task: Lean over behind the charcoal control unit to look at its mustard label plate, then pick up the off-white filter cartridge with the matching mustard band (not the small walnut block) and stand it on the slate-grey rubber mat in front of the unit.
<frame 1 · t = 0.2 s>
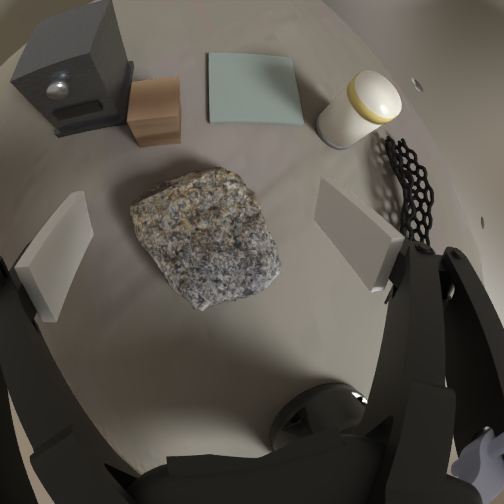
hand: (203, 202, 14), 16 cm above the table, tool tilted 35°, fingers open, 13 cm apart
rock: (206, 239, 30), on the table
mat: (254, 86, 31), on the table
control unit: (95, 98, 27), on the table
walnut block: (160, 127, 29), on the table
cartridge: (335, 129, 33), on the table
decorative element: (398, 212, 36), on the table
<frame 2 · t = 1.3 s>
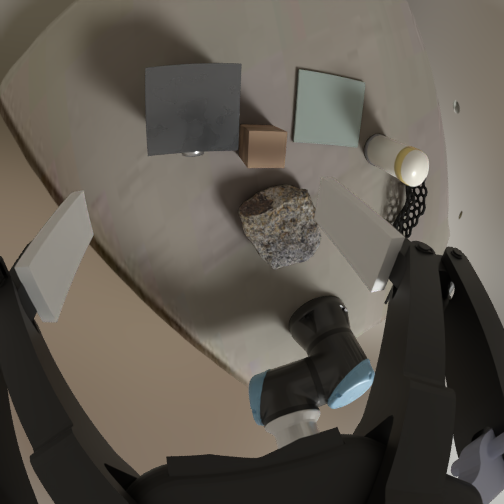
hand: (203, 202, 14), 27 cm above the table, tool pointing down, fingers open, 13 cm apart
rock: (277, 219, 48), on the table
mat: (330, 109, 38), on the table
control unit: (192, 103, 34), on the table
walnut block: (255, 140, 39), on the table
cartridge: (377, 149, 43), on the table
decorative element: (398, 205, 52), on the table
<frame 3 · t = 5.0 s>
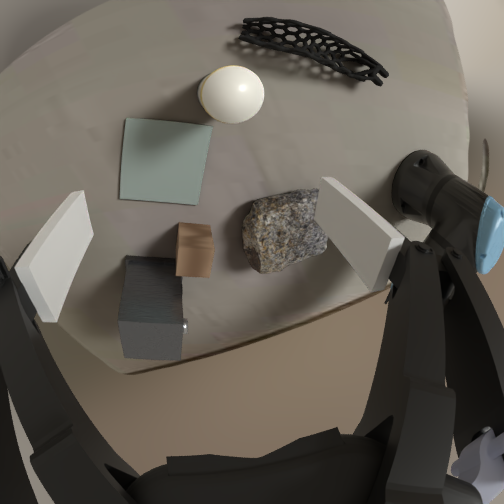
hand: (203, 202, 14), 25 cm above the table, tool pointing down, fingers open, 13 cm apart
rock: (281, 221, 46), on the table
mat: (163, 161, 35), on the table
control unit: (154, 280, 46), on the table
walnut block: (192, 237, 43), on the table
cartridge: (220, 92, 31), on the table
decorative element: (313, 51, 30), on the table
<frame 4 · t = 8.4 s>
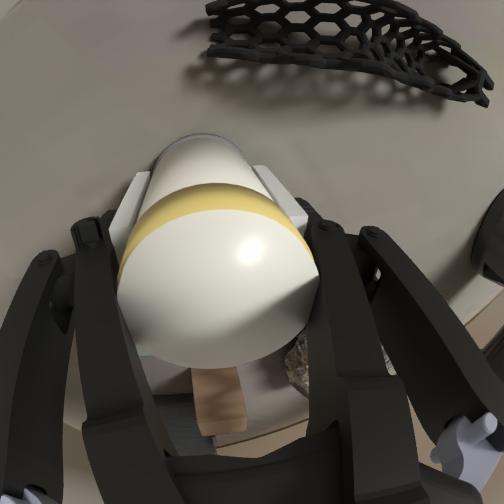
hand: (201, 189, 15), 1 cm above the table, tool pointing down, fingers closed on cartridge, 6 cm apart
rock: (336, 334, 31), on the table
control unit: (177, 408, 34), on the table
walnut block: (214, 374, 29), on the table
cartridge: (200, 181, 16), on the table, touching gripper
decorative element: (370, 49, 13), on the table
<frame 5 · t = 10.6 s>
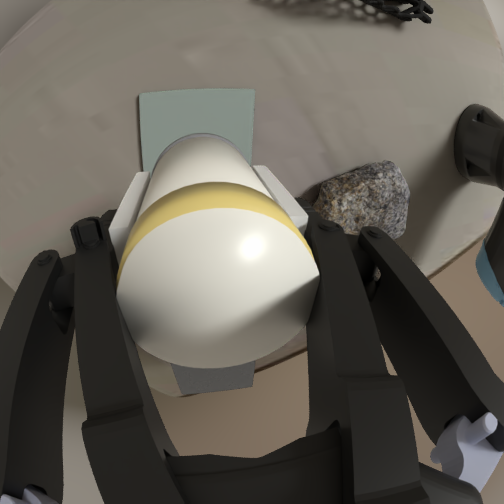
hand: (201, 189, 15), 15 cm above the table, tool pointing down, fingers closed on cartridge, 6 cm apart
rock: (351, 204, 36), on the table
mat: (196, 142, 27), on the table
control unit: (203, 292, 39), on the table
cartridge: (200, 180, 16), point 13 cm above the table, touching gripper
when the fingers open (3 cm above the table, at t = 12.9 s): cartridge drops 1 cm, resting on mat.
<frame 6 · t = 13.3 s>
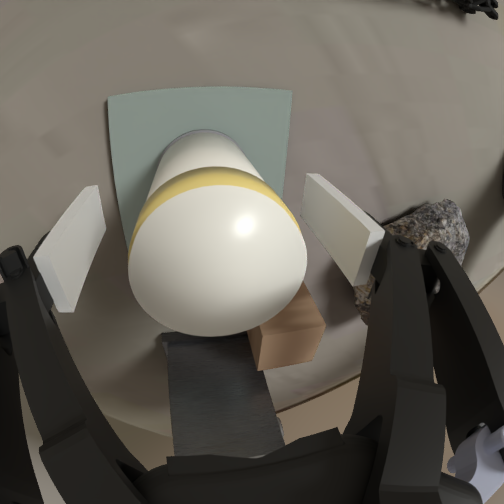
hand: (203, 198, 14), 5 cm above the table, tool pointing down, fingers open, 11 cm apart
rock: (398, 250, 28), on the table
mat: (199, 172, 18), on the table
control unit: (211, 355, 30), on the table
walnut block: (268, 292, 26), on the table
cartridge: (202, 173, 18), point 1 cm above the table, touching mat
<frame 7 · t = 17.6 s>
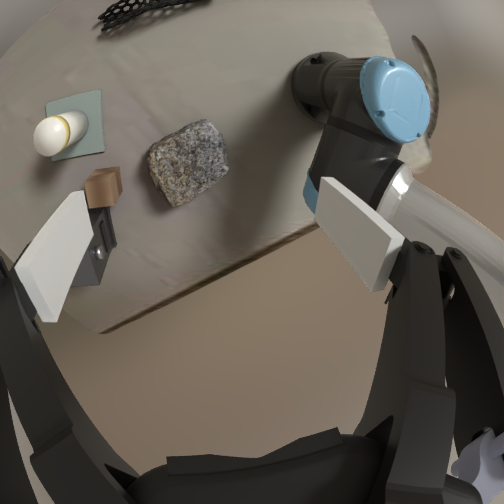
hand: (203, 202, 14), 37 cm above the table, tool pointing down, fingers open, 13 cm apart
rock: (187, 158, 47), on the table
mat: (74, 125, 37), on the table
control unit: (91, 225, 50), on the table
walnut block: (109, 180, 45), on the table
cartridge: (74, 125, 37), point 1 cm above the table, touching mat
decorative element: (162, 3, 29), on the table
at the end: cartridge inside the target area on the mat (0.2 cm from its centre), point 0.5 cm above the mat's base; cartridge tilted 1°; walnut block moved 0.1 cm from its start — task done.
